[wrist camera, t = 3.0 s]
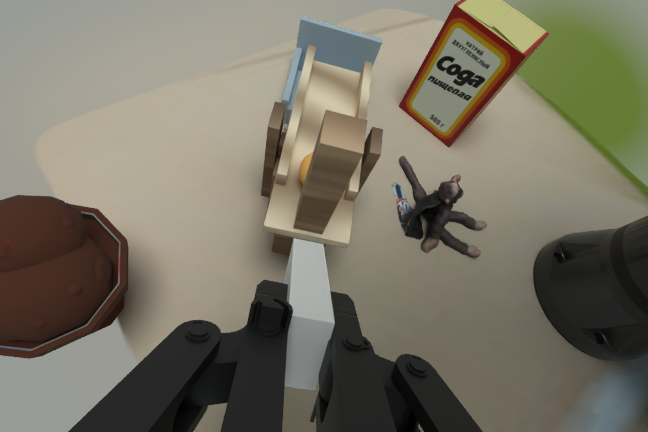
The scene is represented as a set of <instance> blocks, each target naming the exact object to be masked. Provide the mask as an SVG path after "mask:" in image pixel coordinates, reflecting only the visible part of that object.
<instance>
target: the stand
mask: <svg viewBox="0 0 648 432" xmlns="http://www.w3.org/2000/svg"><path fill="white" fill-rule="evenodd" d="M285 107H286V104H283V103H279V102H275V103H274V107H273V110H272V114H271V117H270V121H269V125H268V131H267V141H266V151H265V161H264V171H263V181H262V192H261V195H262V196H267V197H269V202H270V198H271V194H272V190H273V186H274V182H275V178H276V174H277V170H278V166H279V162H280V158H281V154H282V150H283V146H284V141H285V137H286V133H287V129H284V132H282V127H283V120H284V114H285ZM281 133H282V135H281ZM382 133H383V129H379V128H375V127H372V129H371V131H370V133H369V135H368V137H367V139H366V141H365V144H364V153H363V156H362V162H361V172H360V181H359V190H358V193H359V191H360V189H361V188H362V186H363V184H364V183H365V181H366V179H367V178H368V176H369V174H370V172H371V171H372V169H373V167H374V166H375V164H376V162H377V160H378V159H379V157H380V155H381V145H382ZM357 195H358V194H357ZM357 195H356V196H357ZM355 198H356V197H355ZM354 200H355V199H354ZM268 206H269V203H268ZM294 238H295V237H290V236H286V235H281V234H276V233H275V238H274V243H273V247H272V252H277V253H281V254H286V255H290V252H291V248H292V243H293V239H294ZM296 239H300V238H296ZM301 240H304V239H301ZM306 241H309V240H306ZM311 242H314V241H311ZM315 243H318V242H315ZM320 244H323V243H320ZM323 245H324V247H325V245H326V244H323Z"/></svg>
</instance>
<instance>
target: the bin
mask: <svg viewBox="0 0 648 432" xmlns="http://www.w3.org/2000/svg"><path fill="white" fill-rule="evenodd" d="M381 44H382V39H381V38H377V37H374V36H370V35H367V34H363V33H360V32H357V31H353V30H350V29H346V28H343V27H339V26H336V25H332V24H329V23H326V22H322V21H319V20H315V19H312V18H309V17H305V16H302V17H301V21H300V27H299V33H298V40H297V46H296V50H295V54H294V58H293V61H292V65H291V69H290V72H289V76H288V80H287V83H286V87H285V91H284V95H283V98H282V103H283V104H286V107H285V114H284V120H283V123H285V122H286V123H289V121H290V117H291V113H292V109H293V105H294V101H295V97H296V93H297V89H298V85H299V81H300V77H301V73H302V69H303V65H304V60H305V58H306V54H307V49H308V45H311V46H314V47H316V51H315V55H314V60H315V61H319V62H322V63H326V64H329V65H333V66H337V67H340V68H344V69H347V70H351V71H355V72H358V73H361V70H362V68H363V65H364V62H365V61H367V62H371V63H372V66H373V64H374V61H375V59H376V56H377V54H378V51H379V49H380V46H381Z"/></svg>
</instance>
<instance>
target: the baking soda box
mask: <svg viewBox="0 0 648 432" xmlns="http://www.w3.org/2000/svg"><path fill="white" fill-rule="evenodd" d="M548 35H549V33H548V32H546V31H545V30H543V29H542V28H541V27H539V26H538V25H536V24H535V23H534V22H532V21H531V20H530V19H528V18H527V17H525V16H524V15H523V14H521V13H520V12H519V11H517V10H516V9H514V8H512V7H511V6H509V5H508V4H507V3H505V2H504V1H502V0H461V1H459V2H458V3H456V4H455V5H454V7H453V9H452V11H451V12H450V14H449V16H448V18H447V20H446V21H445V23H444V25H443V27H442V29H441V31H440V32H439V34H438V36H437V38H436V40H435V41H434V43H433V45H432V47H431V49H430V51H429V52H428V54H427V56H426V58H425V60H424V61H423V63H422V65H421V67H420V69H419V71H418V72H417V74H416V76H415V78H414V80H413V81H412V83H411V85H410V87H409V89H408V90H407V92H406V94H405V96H404V98H403V100H402V101H401V103H400V105H399V107H400V108H401V109H402V110H404V111H405V112H406V113H407V114H409V115H410V116H411V117H412V118H413V119H415V120H416V121H417V122H418V123H419V124H421V125H422V126H423V127H424V128H426V129H427V130H428V131H429V132H430V133H432V134H433V135H434V136H435V137H437V138H438V139H439V140H440V141H441V142H443V143H444V144H445V145H446V146H448V147H450V146H451V145H452V144H453V143H454V142H455V141H456V140H457V139H458V138H459V137H460V136H461V135H462V134H463V133H464V132H465V131H466V130H467V129H468V127H469V126H470V125H471V124H472V123H473V122H474V121H475V120H476V118H477V117H478V116H479V115H480V114H481V113H482V111H483V110H484V109H485V108H486V107H487V106H488V104H489V103H490V102H491V101H492V100H493V99H494V98H495V96H496V95H497V94H498V93H499V92H500V91H501V89H502V88H503V87H504V86H505V85H506V84H507V82H508V81H509V80H510V79H511V78H512V77H513V75H514V74H515V73H516V72H517V71H518V70H519V68H520V67H521V66H522V65H523V64H524V63H525V61H526V60H527V59H528V58H529V56H531V54H532V53H533V52H534V51H535V49H537V47H538V46H539V45H540V44H541V43H542V41H543V40H544V39H545V38H546V37H547V36H548Z"/></svg>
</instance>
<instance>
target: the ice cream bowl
mask: <svg viewBox="0 0 648 432" xmlns="http://www.w3.org/2000/svg"><path fill="white" fill-rule="evenodd" d="M127 290H128V243H127V239H126V238H125V237H124V236H123V235H122V234H121V233H120V232H119V231H118V230H117V229H116V228H115V227H114V226H113V225H112V223H111V222H110V221H109V220H108V219H107V218H106V217H105V216H104V215H103V214H102V213H101V212H100V211H99V210H98V209H95V208H89V207H83V206H77V205H72V204H68V203H65V202H64V201H62V200H59V199H57V198H54V197H49V196H23V195H17V196H13V197H10V198H7V199H3V200H0V355H3V356H13V357H22V358H34V357H39V356H43V355H45V354H47V353H49V352H51V351H53V350H56V349H58V348H60V347H62V346H65V345H67V344H69V343H71V342H73V341H75V340H78V339H80V338H82V337H84V336H87V335H89V334H91V333H94V332H96V331H98V330H100V329H102V328H105V327H107V326H109V325H111V324H112V323H113V321H114V320H115V319H116V317H117V316H118V314H119V313H120V312H121V310H122V309H123V308H124V294H125V292H126V291H127Z"/></svg>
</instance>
